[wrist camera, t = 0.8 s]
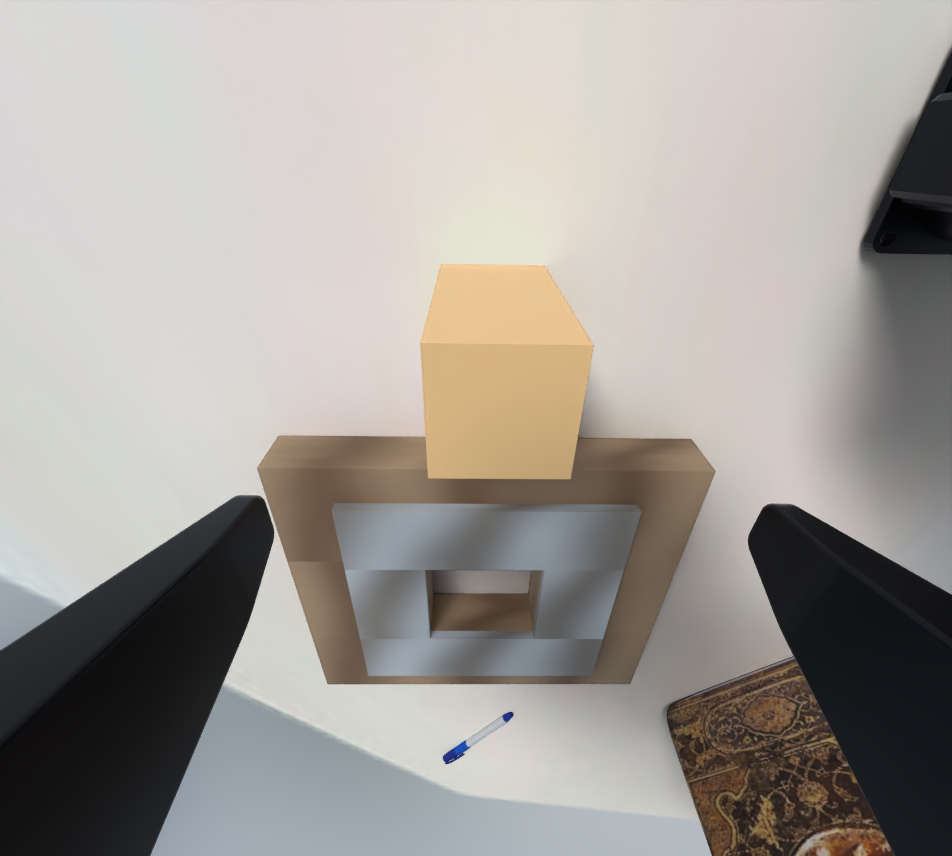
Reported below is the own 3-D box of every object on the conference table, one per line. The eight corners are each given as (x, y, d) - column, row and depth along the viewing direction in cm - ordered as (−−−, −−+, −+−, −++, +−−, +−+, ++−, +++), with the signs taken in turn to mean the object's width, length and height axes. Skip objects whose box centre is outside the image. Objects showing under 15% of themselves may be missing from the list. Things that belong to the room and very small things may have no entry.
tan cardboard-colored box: (544, 265, 17) (593, 345, 10) (535, 361, 19) (570, 479, 12) (440, 264, 17) (420, 343, 10) (443, 360, 19) (428, 478, 12)
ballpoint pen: (449, 755, 41) (449, 768, 40) (441, 753, 41) (441, 766, 40) (513, 709, 36) (514, 723, 36) (505, 707, 36) (506, 721, 35)
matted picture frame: (691, 439, 21) (721, 478, 19) (619, 647, 31) (632, 691, 28) (278, 435, 21) (252, 475, 18) (337, 647, 31) (325, 692, 28)
